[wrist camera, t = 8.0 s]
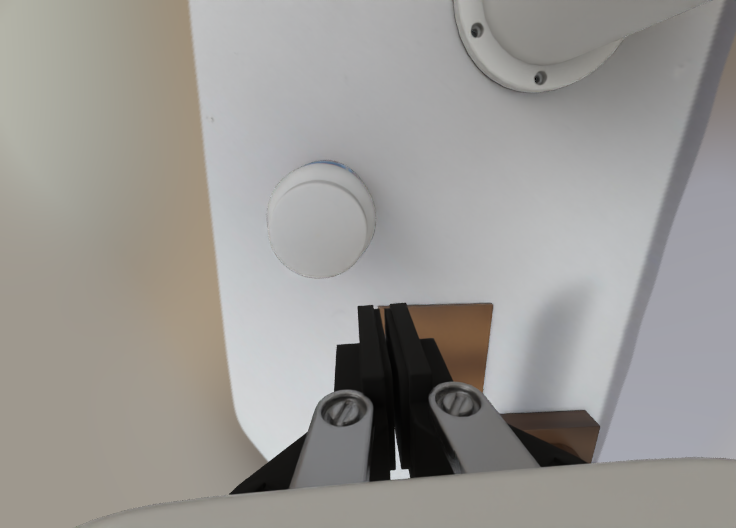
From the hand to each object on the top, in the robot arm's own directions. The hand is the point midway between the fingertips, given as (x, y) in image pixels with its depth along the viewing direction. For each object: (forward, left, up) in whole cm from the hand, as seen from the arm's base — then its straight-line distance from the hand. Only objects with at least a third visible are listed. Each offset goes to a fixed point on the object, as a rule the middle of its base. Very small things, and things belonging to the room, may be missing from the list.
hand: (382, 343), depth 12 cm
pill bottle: (-3, -3, -17) cm, 17 cm away
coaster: (+11, +6, -17) cm, 21 cm away
